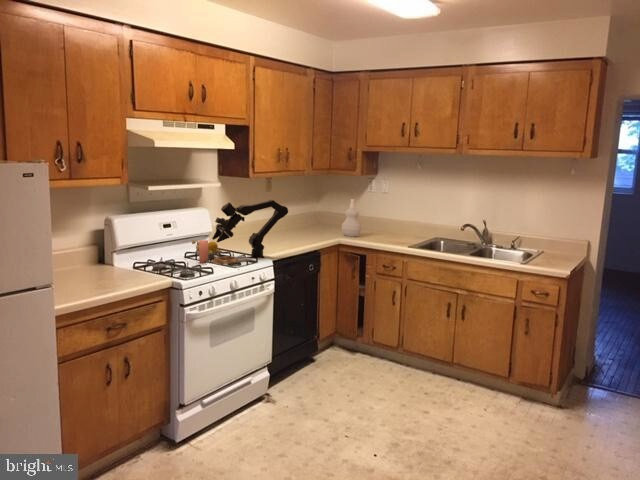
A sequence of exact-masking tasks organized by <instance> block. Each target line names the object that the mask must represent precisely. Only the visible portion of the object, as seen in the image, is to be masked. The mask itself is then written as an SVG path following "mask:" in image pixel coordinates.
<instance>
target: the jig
mask: <svg viewBox="0 0 640 480" xmlns="http://www.w3.org/2000/svg"><path fill="white" fill-rule="evenodd" d="M241 257H242V258H244V257H243V256H241ZM249 261H252V260H251V259H249V260H247V261H246V262H249ZM210 262H211V263H213V264H217V265H219V266H221V265H227V264H235V263H242V262H245V261H239V262H237V259H236V258H234V256H229V255H225V256H218V257H213V260H210Z"/></svg>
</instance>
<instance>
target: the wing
mask: <svg viewBox="0 0 640 480" xmlns="http://www.w3.org/2000/svg"><path fill="white" fill-rule="evenodd" d="M247 260H250V257H249V258H248V257H243V258H241V259H237V262H236V263H240V262H239V261H244V262H248V261H247Z"/></svg>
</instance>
